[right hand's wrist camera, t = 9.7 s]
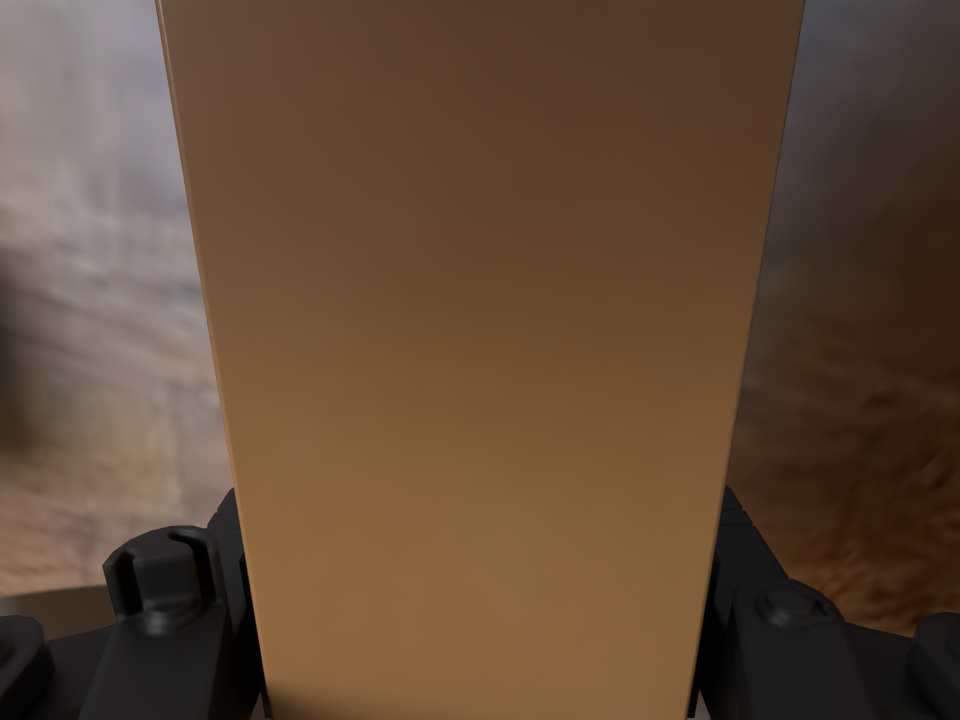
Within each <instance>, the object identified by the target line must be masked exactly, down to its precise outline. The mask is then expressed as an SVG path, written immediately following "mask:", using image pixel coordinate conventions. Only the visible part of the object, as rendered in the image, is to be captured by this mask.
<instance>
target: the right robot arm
mask: <svg viewBox="0 0 960 720" xmlns="http://www.w3.org/2000/svg"><path fill="white" fill-rule="evenodd" d="M102 567H103V570H104V574H105V578H106V582H107V586H108V589H109V593H110V597H111V601H112V604H113V608H114V612H115V616H116V622H115V624H114V625H111V626H107V627H104V628H101V629H97V630H93V631H89V632H85V633H80V634H76V635H72V636H67V637H63V638H59V639H54V640H50V641H47V638H46V635H45V631H44V628H43V626H42V625H41V624H40V623H38V622H37V621H36V620H35V619H34V618H32V617H26V616H21V615H10V616H2V617H0V720H250V717H251V714H252V712H253V709H254V706H255V704H256V701H257V698H258V696H259V693H260V690H261V696H262V702H263V708H264V714H265V718H271V712H270V705H269V699H268V693H267V687H266V681H265V675H264V668H263V662H262V656H261V650H260V644H259V638H258V632H257V625H256V619H255V613H254V607H253V601H252V595H251V588H250V582H249V576H248V570H247V564H246V558H245V552H244V545H243V539H242V533H241V527H240V521H239V515H238V508H237V502H236V496H235V490H234V487H233V488H232V489H231V490H229V492H228V494H227V495H226V497H225V498H224V500H223V501H222V503H221V504H220V506H219V507H218V511H217V513H215V514H214V515H213V517H212V518H211V520H210V521H209V523H208V527H207V528H205V529H203V528H199V527H196V526H192V525H190V526H169V527H165V528H161V529H156V530H152V531H149V532H147V533H144V534H142V535H140V536H138V537H135V538H133V539H131V540H129V541H128V542H126V543H125V544H123V545H122V546H121V547H119V548H118V549H116V550H115V551H114V552H112V554H111V555H110V556H109V558H108V559H107V560H106V562H105V563H104V564H103V565H102ZM699 688H700V691H701V694H702V696H703V699H704V702H705V704H706V707H707V710H708V712H709V715H710V718H711V719H710V720H960V614H957V613H949V612H941V613H935V614H929V615H926V616H925V617H924V618H923V619H922V620H921V621H920V622H919V623H917V626H916V630H915V633H914V636H913V638H909V637H905V636H900V635H896V634H891V633H887V632H883V631H878V630H874V629H870V628H865V627H862V626H858V625H855V624H852V623H848V622H845V620H844V618H843V617H842V615H841V614H840V612H839V611H838V609H837V607H836V606H835V604H834V603H833V602H831V601H830V600H829V599H828V598H826V597H825V596H824V595H823V594H821V593H820V592H819V591H818V590H816V589H814V588H812V587H810V586H808V585H806V584H804V583H801V582H799V581H797V580H793V579H789V577H788V576H787V574H786V573H785V571H784V570H783V568H782V567H781V565H780V564H779V562H778V561H777V559H776V557H775V556H774V554H773V553H772V551H771V550H770V548H769V547H768V545H767V544H766V542H765V541H764V539H763V538H762V536H761V534H760V533H759V531H758V530H757V528H756V527H755V526H753V525H752V521H751V519H750V518H749V516H748V515H747V513H746V512H745V510H742V505H741V504H740V502H739V501H738V499H737V498H736V496H735V495H734V493H733V492H732V490H731V489H730V488H729V487H728V486H727V485H725V491H724V497H723V503H722V509H721V515H720V521H719V527H718V533H717V539H716V545H715V551H714V557H713V563H712V569H711V575H710V582H709V588H708V594H707V600H706V606H705V612H704V618H703V624H702V630H701V636H700V642H699V648H698V654H697V660H696V666H695V673H694V679H693V685H692V691H691V697H690V703H689V709H688V715H687V718H694V717H695V711H696V705H697V699H698V693H699Z"/></svg>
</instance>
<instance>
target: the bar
mask: <svg viewBox="0 0 960 720" xmlns="http://www.w3.org/2000/svg"><path fill="white" fill-rule="evenodd" d="M155 4H156V10H157V16H158V22H159V29H160V35H161V41H162V47H163V53H164V59H165V66H166V72H167V78H168V84H169V90H170V96H171V102H172V109H173V115H174V121H175V127H176V133H177V139H178V145H179V152H180V158H181V164H182V170H183V176H184V182H185V189H186V195H187V201H188V207H189V213H190V219H191V225H192V232H193V238H194V244H195V250H196V256H197V262H198V269H199V275H200V281H201V287H202V293H203V299H204V305H205V312H206V318H207V324H208V330H209V336H210V342H211V349H212V355H213V361H214V367H215V373H216V379H217V385H218V392H219V398H220V404H221V410H222V416H223V422H224V429H225V435H226V441H227V447H228V453H229V459H230V465H231V472H232V478H233V484H234V490H235V496H236V502H237V508H238V515H239V521H240V527H241V533H242V539H243V545H244V552H245V558H246V564H247V570H248V576H249V582H250V588H251V595H252V601H253V607H254V613H255V619H256V625H257V632H258V638H259V644H260V650H261V656H262V662H263V668H264V675H265V681H266V687H267V693H268V699H269V705H270V712H271V718H272V720H687V715H688V709H689V703H690V697H691V691H692V685H693V679H694V673H695V666H696V660H697V654H698V648H699V642H700V636H701V630H702V624H703V618H704V612H705V606H706V600H707V594H708V588H709V582H710V575H711V569H712V563H713V557H714V551H715V545H716V539H717V533H718V527H719V521H720V515H721V509H722V503H723V497H724V491H725V484H726V478H727V472H728V466H729V460H730V454H731V448H732V442H733V436H734V430H735V424H736V418H737V412H738V406H739V400H740V393H741V387H742V381H743V375H744V369H745V363H746V357H747V351H748V345H749V339H750V333H751V327H752V321H753V315H754V309H755V302H756V296H757V290H758V284H759V278H760V272H761V266H762V260H763V254H764V248H765V242H766V236H767V230H768V224H769V217H770V211H771V205H772V199H773V193H774V187H775V181H776V175H777V169H778V163H779V157H780V151H781V145H782V139H783V133H784V126H785V120H786V114H787V108H788V102H789V96H790V90H791V84H792V78H793V72H794V66H795V60H796V54H797V48H798V42H799V35H800V29H801V23H802V17H803V11H804V5H805V0H155Z"/></svg>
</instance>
